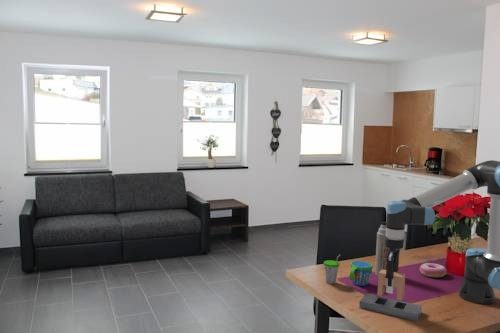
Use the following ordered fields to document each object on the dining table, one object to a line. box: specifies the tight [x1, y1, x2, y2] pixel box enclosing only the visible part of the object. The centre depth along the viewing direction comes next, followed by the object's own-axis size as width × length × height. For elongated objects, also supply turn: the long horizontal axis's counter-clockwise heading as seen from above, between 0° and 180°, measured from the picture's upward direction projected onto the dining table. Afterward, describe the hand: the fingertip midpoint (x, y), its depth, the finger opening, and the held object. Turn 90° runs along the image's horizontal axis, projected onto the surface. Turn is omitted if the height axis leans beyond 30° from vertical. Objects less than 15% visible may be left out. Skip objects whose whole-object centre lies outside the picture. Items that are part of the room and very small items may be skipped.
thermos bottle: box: [374, 221, 390, 277], centre depth 236 cm, size 8×8×28 cm
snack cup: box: [348, 260, 373, 287], centre depth 223 cm, size 16×10×10 cm
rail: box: [358, 293, 423, 322], centre depth 193 cm, size 24×10×3 cm, turn 60°
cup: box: [323, 254, 342, 285], centre depth 223 cm, size 8×8×15 cm
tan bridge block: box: [376, 270, 406, 301], centre depth 192 cm, size 10×5×10 cm, turn 60°
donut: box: [419, 262, 448, 279], centre depth 239 cm, size 14×13×5 cm
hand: (391, 290), depth 192 cm, fingers closed on tan bridge block, 5 cm apart
